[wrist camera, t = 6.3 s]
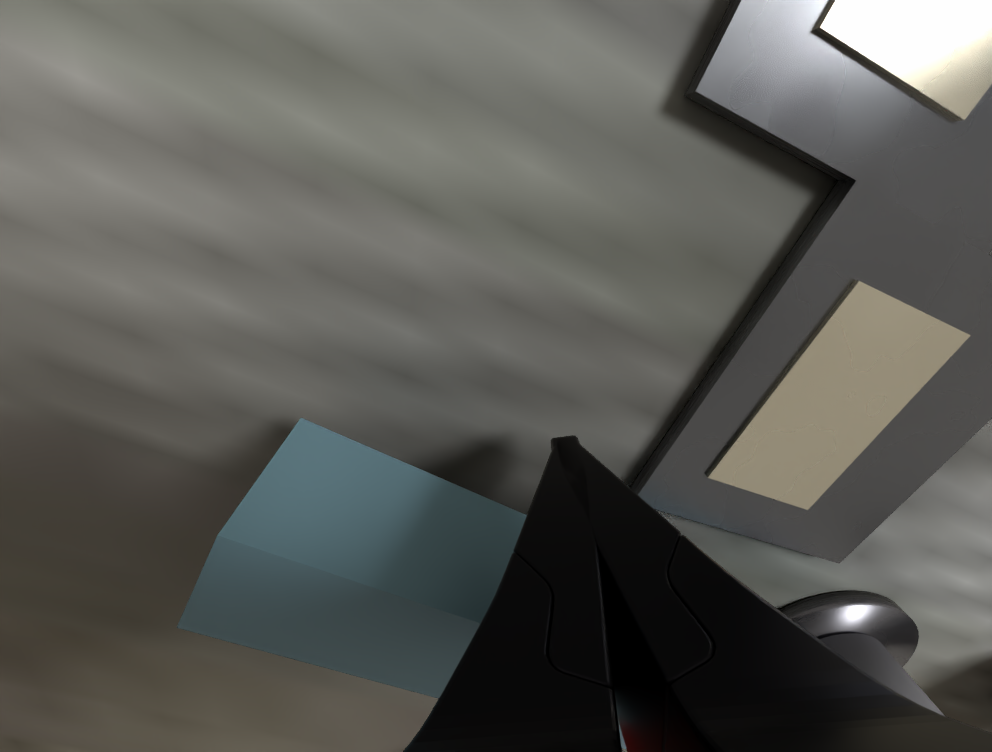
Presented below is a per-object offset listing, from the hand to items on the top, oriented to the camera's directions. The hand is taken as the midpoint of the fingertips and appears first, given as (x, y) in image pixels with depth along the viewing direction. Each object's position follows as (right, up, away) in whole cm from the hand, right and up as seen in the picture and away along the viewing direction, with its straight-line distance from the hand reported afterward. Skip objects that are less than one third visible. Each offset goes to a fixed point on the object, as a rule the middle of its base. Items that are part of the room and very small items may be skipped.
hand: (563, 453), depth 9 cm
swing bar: (+3, -4, +3) cm, 6 cm away
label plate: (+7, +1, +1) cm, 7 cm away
